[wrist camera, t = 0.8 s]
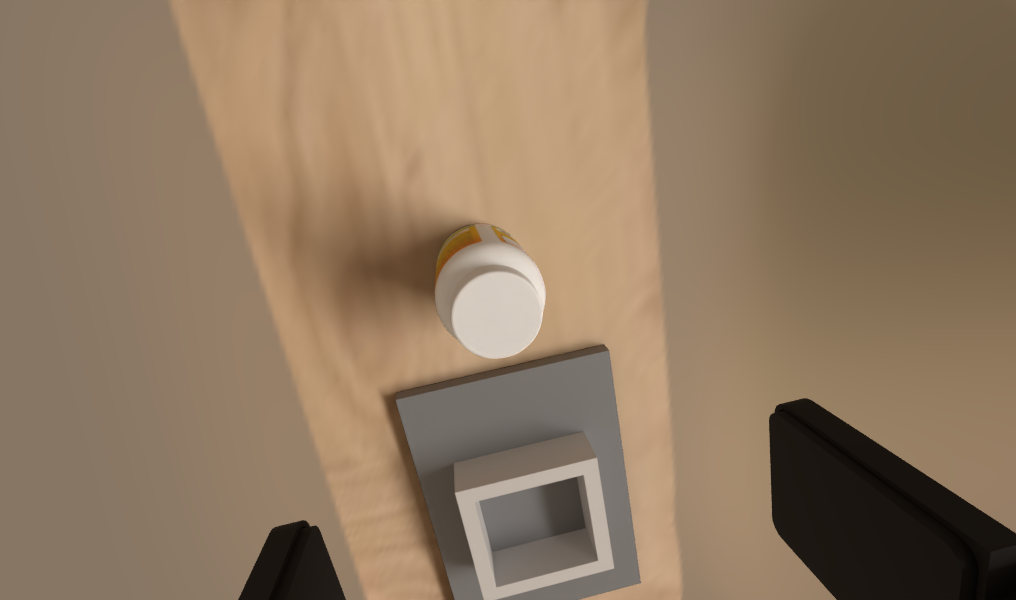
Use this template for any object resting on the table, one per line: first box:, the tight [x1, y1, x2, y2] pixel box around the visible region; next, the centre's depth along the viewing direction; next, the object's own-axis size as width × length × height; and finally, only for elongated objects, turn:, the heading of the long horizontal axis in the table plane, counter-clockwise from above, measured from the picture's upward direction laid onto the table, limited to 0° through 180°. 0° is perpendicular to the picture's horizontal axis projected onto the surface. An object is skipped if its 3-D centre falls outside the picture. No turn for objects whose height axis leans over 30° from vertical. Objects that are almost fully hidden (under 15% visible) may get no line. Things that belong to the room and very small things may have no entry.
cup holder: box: [396, 345, 641, 600], centre depth 33 cm, size 20×14×4 cm
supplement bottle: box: [435, 224, 546, 359], centre depth 25 cm, size 5×5×10 cm
